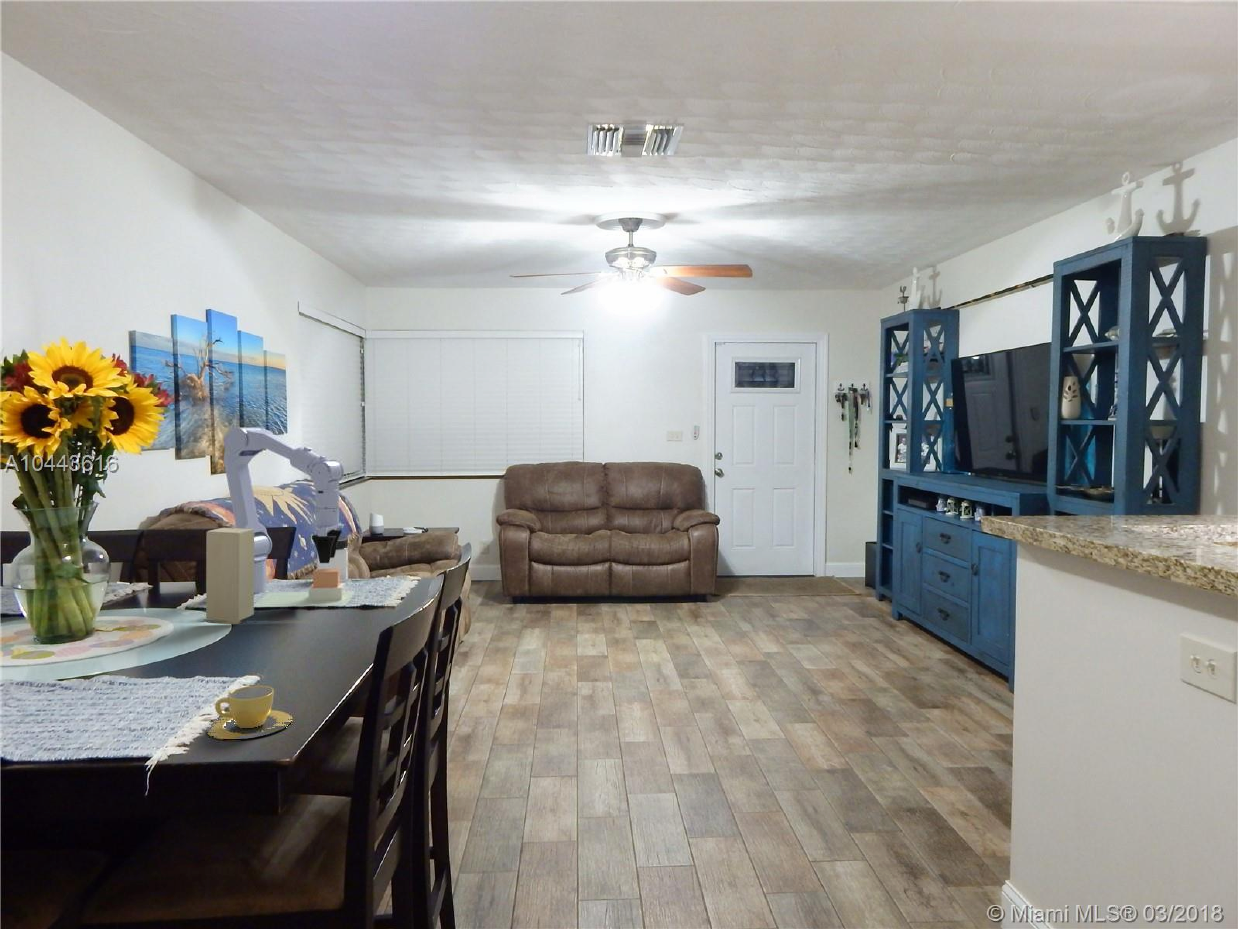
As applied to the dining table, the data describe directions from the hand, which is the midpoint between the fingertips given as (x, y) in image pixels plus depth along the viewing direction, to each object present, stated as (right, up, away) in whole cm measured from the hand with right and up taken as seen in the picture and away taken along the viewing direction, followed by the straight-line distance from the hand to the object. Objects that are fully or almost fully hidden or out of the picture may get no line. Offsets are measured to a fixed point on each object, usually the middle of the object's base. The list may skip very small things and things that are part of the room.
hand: (327, 560), depth 205 cm
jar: (-8, -9, +26) cm, 28 cm away
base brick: (0, -10, +1) cm, 10 cm away
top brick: (0, -7, 0) cm, 7 cm away
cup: (+18, -16, -82) cm, 86 cm away
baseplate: (-5, -10, -1) cm, 12 cm away
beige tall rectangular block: (-15, -12, -20) cm, 28 cm away
